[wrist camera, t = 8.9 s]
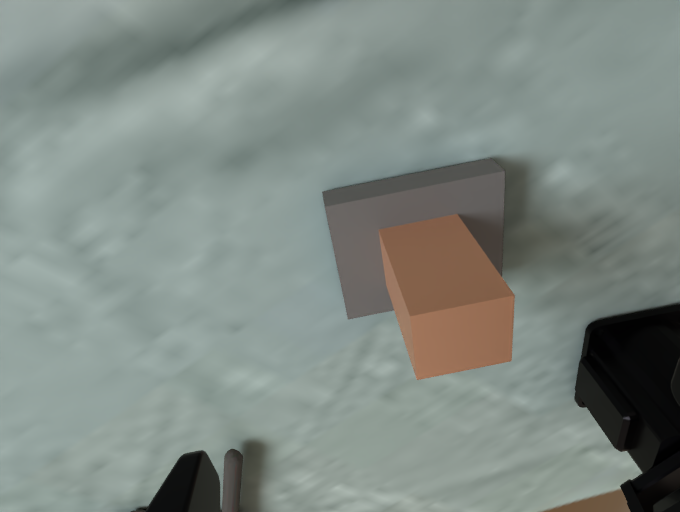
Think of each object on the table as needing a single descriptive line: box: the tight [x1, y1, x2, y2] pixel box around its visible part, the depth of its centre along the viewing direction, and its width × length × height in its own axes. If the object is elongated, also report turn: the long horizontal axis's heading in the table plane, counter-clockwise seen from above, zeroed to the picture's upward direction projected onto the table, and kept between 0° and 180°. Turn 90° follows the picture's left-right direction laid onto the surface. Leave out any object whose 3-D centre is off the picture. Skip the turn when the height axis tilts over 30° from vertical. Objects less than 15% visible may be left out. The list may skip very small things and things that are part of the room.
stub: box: [322, 158, 515, 380], centre depth 18 cm, size 7×6×7 cm
